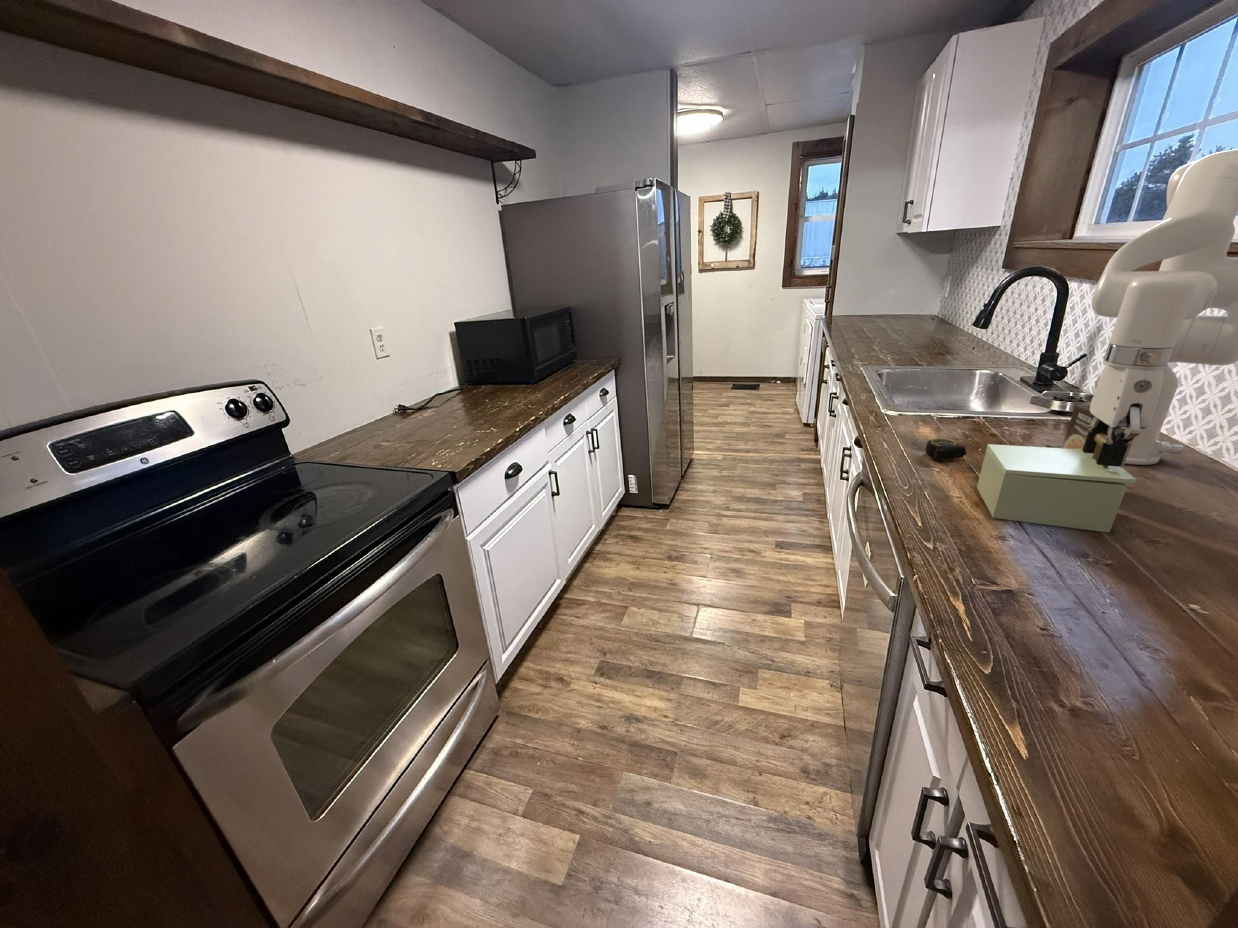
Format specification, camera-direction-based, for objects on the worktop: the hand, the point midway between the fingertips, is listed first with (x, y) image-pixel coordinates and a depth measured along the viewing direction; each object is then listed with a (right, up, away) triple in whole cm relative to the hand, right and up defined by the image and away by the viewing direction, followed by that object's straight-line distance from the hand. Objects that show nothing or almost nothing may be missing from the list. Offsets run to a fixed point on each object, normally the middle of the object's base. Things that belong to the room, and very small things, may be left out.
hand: (1100, 458), depth 88 cm
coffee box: (+10, -6, +15) cm, 18 cm away
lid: (-6, -1, +3) cm, 7 cm away
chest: (-6, -10, +7) cm, 13 cm away
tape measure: (-8, 0, +31) cm, 32 cm away
